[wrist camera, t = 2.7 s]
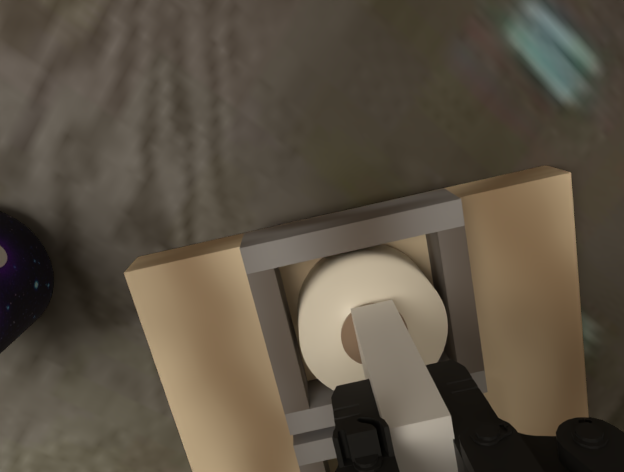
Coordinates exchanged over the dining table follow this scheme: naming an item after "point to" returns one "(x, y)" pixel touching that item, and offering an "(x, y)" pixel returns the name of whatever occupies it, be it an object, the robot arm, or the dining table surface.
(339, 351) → the cream button
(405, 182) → the dining table surface
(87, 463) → the dining table surface
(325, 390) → the panel
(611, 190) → the dining table surface
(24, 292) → the beverage can
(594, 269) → the dining table surface
